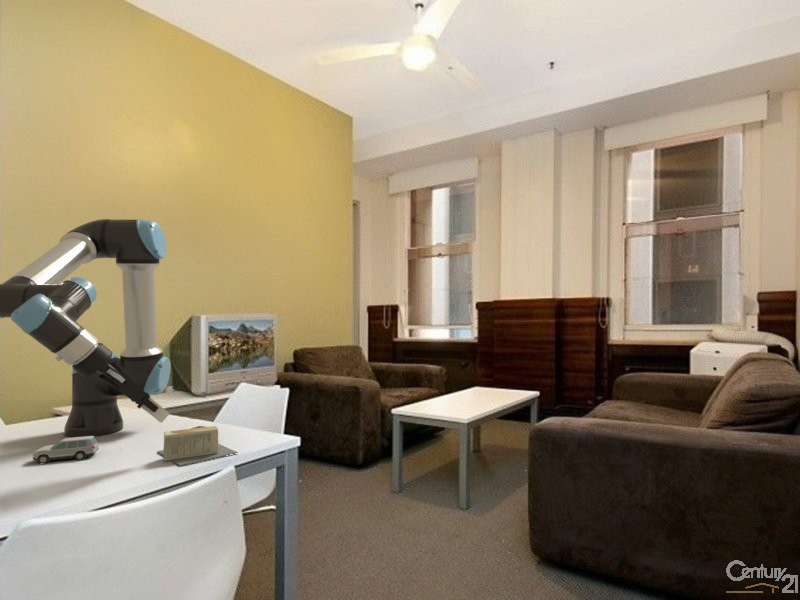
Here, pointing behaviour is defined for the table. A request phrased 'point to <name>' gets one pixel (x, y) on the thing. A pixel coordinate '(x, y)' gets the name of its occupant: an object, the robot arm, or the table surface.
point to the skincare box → (190, 442)
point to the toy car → (67, 449)
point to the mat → (191, 460)
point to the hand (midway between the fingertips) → (164, 417)
